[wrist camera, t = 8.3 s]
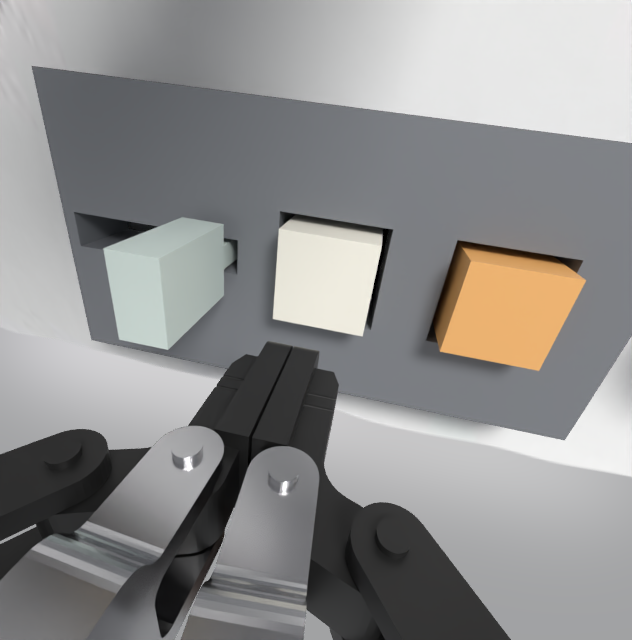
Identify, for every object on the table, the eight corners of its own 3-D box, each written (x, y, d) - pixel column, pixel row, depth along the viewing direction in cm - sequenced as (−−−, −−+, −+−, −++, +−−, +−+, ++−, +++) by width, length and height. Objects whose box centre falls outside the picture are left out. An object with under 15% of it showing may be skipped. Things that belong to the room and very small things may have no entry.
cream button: (299, 211, 19) (278, 228, 15) (383, 224, 18) (381, 246, 15) (292, 288, 21) (272, 318, 17) (366, 301, 20) (362, 336, 17)
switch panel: (98, 79, 19) (31, 66, 15) (667, 153, 16) (745, 157, 12) (132, 311, 25) (91, 339, 22) (537, 393, 23) (564, 440, 19)
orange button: (454, 236, 18) (471, 261, 14) (546, 251, 17) (586, 280, 14) (430, 313, 20) (439, 351, 16) (511, 328, 19) (538, 370, 16)
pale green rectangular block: (221, 201, 20) (103, 248, 12) (255, 206, 20) (159, 258, 12) (222, 261, 22) (119, 339, 14) (253, 267, 22) (167, 350, 13)
